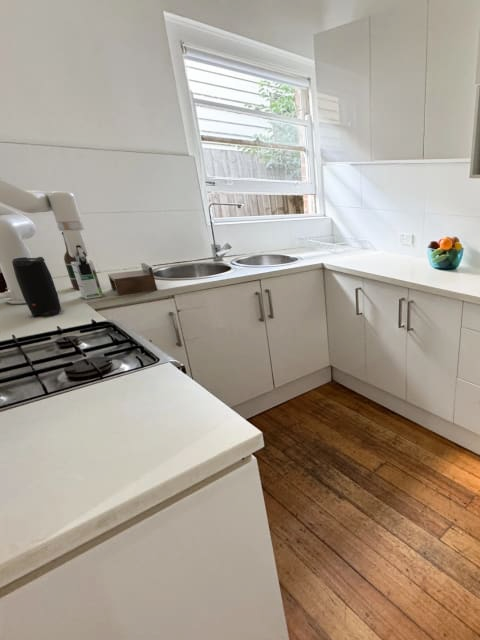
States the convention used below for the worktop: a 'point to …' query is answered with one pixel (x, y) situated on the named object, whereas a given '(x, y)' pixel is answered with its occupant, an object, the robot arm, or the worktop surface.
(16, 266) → the portable speaker
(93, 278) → the syrup box
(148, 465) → the worktop surface
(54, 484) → the worktop surface
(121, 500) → the worktop surface
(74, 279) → the beer bottle
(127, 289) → the brown wooden box
